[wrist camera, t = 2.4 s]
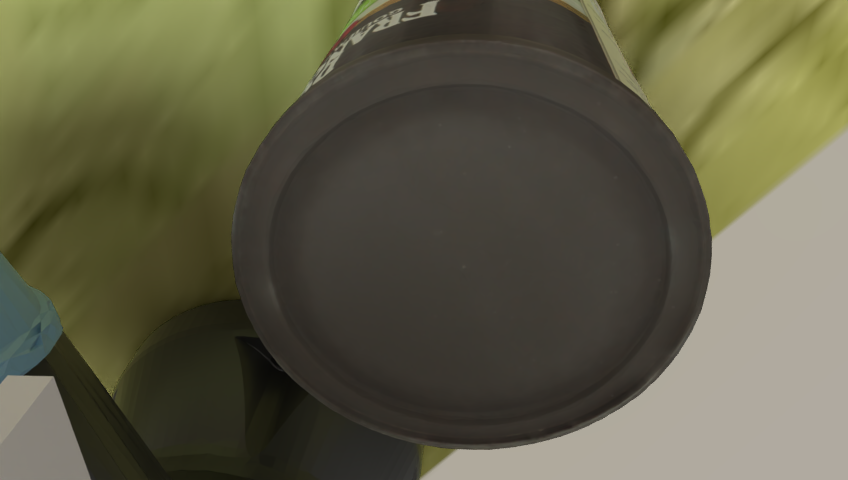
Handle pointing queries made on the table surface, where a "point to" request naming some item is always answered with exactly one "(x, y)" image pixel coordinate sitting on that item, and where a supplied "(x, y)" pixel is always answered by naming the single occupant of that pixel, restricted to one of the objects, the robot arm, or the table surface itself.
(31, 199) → the table surface
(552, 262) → the coffee can
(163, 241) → the table surface
